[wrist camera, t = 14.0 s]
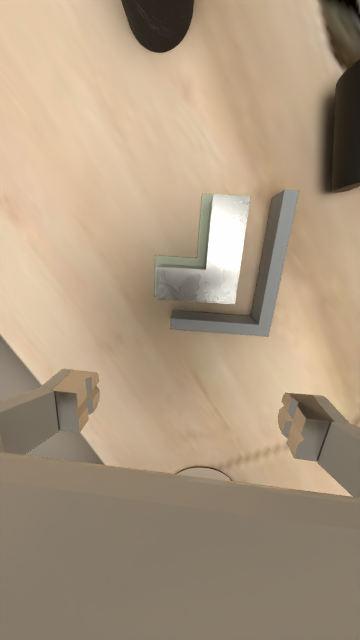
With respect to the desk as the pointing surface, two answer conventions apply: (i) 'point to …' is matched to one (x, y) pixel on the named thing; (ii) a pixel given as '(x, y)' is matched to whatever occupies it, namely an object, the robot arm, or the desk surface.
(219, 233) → the bracket
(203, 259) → the mat
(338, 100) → the end cap
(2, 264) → the desk surface
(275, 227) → the corner walls
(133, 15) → the travel mug
